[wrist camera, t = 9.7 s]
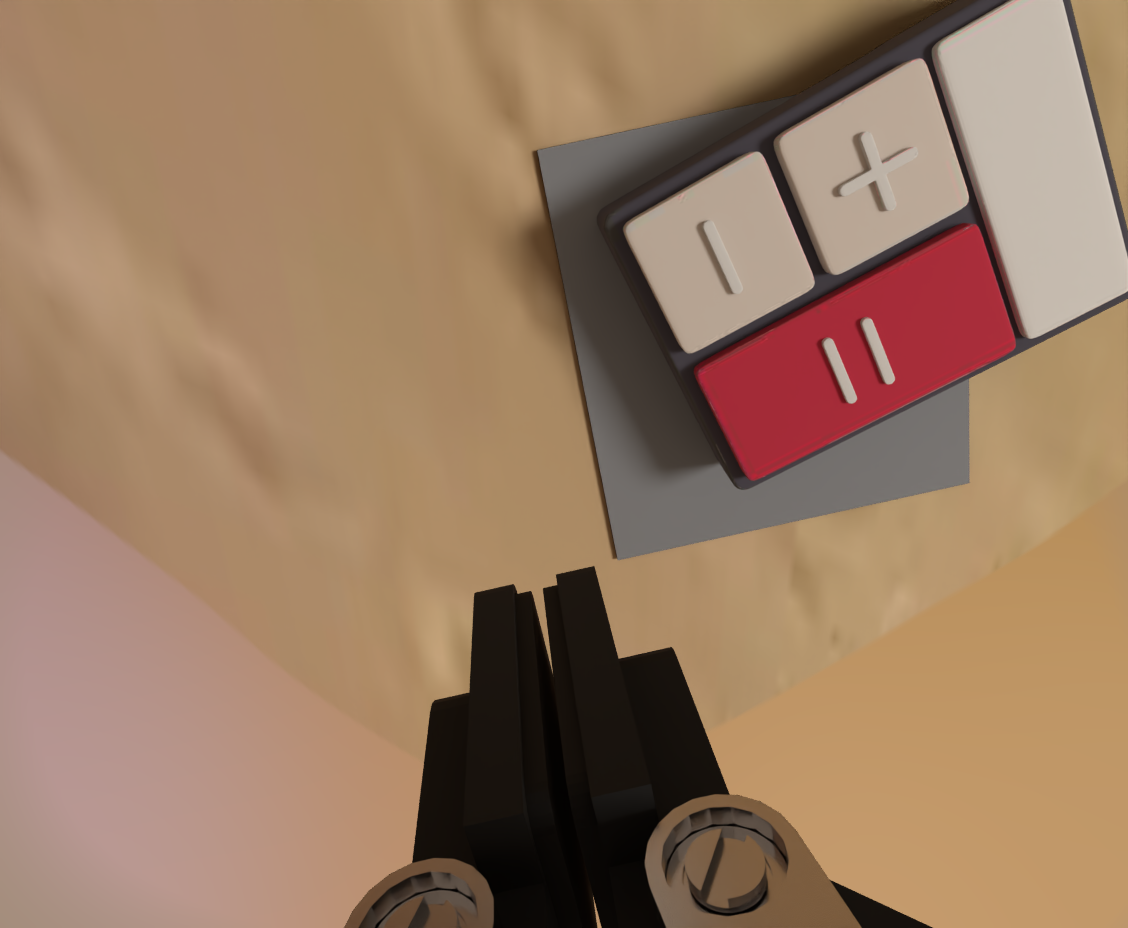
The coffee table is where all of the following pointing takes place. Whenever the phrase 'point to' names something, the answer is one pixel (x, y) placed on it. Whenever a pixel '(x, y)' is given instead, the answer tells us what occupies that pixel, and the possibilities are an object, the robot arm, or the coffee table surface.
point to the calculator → (880, 234)
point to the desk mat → (655, 400)
